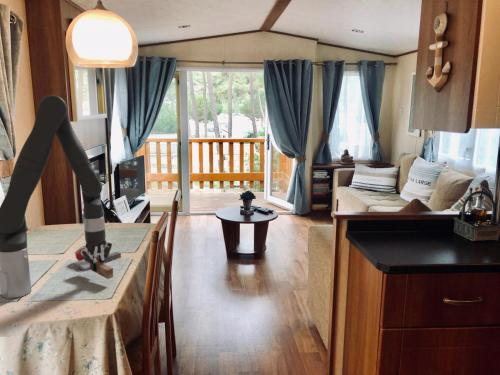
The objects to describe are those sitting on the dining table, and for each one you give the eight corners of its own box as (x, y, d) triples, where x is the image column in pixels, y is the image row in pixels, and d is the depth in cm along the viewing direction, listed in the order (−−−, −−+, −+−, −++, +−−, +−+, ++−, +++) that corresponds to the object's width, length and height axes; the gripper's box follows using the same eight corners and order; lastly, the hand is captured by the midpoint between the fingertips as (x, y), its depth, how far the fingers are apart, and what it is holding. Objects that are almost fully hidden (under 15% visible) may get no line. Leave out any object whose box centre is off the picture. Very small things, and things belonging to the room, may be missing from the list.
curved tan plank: (117, 275, 163) (117, 267, 162) (103, 280, 159) (103, 272, 158) (87, 260, 175) (87, 252, 174) (74, 264, 170) (74, 256, 169)
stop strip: (81, 270, 177) (81, 265, 176) (77, 268, 178) (77, 264, 178) (121, 257, 192) (120, 253, 192) (117, 255, 194) (116, 251, 194)
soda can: (96, 248, 179) (72, 256, 181) (105, 259, 183) (82, 266, 185) (100, 237, 185) (76, 245, 187) (109, 247, 189) (86, 254, 191)
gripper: (84, 234, 155) (87, 278, 158) (115, 225, 166) (118, 267, 169) (72, 230, 159) (76, 273, 162) (104, 222, 170) (107, 263, 173)
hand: (97, 270), depth 166 cm, fingers closed on curved tan plank, 2 cm apart
